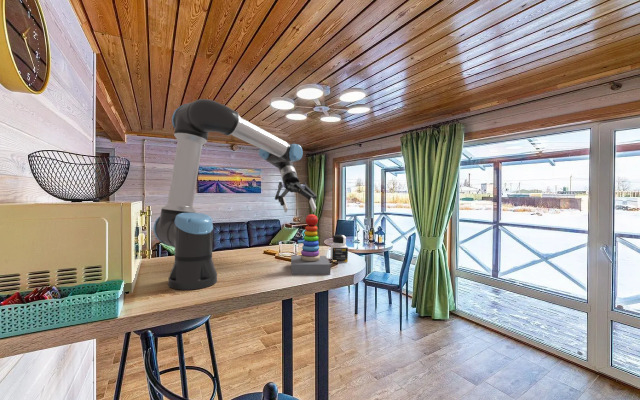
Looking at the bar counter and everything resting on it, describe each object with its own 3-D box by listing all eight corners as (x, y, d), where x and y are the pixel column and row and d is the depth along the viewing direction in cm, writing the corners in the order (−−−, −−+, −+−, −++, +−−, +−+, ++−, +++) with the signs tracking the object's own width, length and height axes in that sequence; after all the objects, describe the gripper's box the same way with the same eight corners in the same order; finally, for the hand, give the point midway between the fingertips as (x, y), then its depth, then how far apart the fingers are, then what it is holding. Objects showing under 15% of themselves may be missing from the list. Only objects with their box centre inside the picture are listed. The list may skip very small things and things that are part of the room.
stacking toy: (319, 262, 116) (320, 215, 115) (299, 261, 116) (300, 214, 115) (320, 257, 123) (321, 213, 123) (301, 257, 124) (302, 213, 123)
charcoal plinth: (291, 274, 111) (291, 264, 111) (290, 264, 126) (291, 255, 126) (330, 274, 113) (330, 264, 113) (325, 264, 128) (325, 255, 128)
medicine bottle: (332, 262, 132) (332, 236, 132) (330, 258, 139) (331, 233, 139) (347, 262, 133) (348, 236, 133) (345, 258, 140) (345, 234, 140)
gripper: (310, 183, 149) (323, 215, 136) (262, 181, 138) (271, 216, 125) (315, 172, 144) (328, 204, 131) (266, 170, 133) (275, 204, 120)
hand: (300, 210), depth 128 cm, fingers open, 13 cm apart
